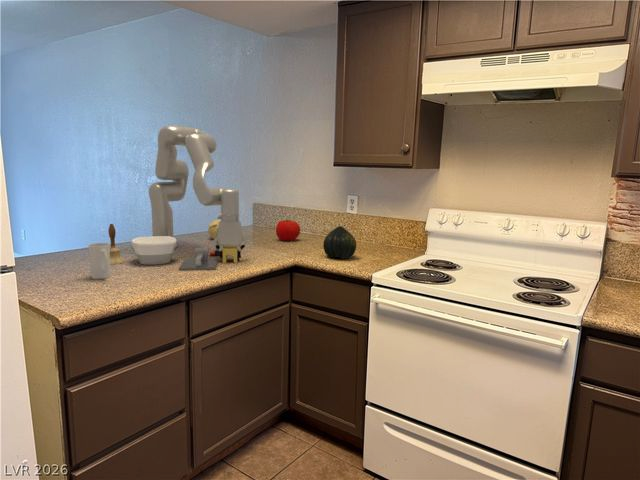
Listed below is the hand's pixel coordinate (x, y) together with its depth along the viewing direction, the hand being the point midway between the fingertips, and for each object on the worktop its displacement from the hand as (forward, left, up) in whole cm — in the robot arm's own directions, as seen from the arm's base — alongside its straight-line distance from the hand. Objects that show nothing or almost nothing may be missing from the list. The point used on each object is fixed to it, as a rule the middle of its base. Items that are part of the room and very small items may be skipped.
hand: (230, 259), depth 193 cm
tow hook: (-5, +14, -1) cm, 15 cm away
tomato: (+29, +50, -1) cm, 58 cm away
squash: (+49, +6, -1) cm, 49 cm away
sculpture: (-8, +54, -1) cm, 55 cm away
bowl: (-31, 0, -1) cm, 31 cm away
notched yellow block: (0, 0, -1) cm, 1 cm away
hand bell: (-47, -1, -1) cm, 47 cm away
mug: (-44, -26, -1) cm, 51 cm away
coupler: (-12, -7, -1) cm, 14 cm away
